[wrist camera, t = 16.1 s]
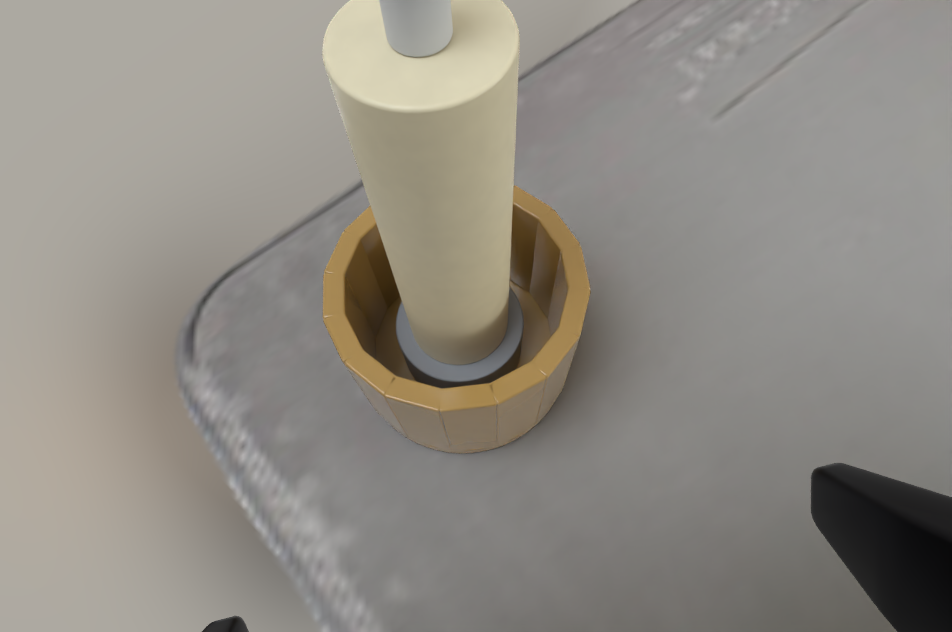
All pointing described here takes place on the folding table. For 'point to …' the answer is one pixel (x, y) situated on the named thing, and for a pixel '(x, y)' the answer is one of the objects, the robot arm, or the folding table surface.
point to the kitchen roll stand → (437, 171)
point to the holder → (475, 406)
